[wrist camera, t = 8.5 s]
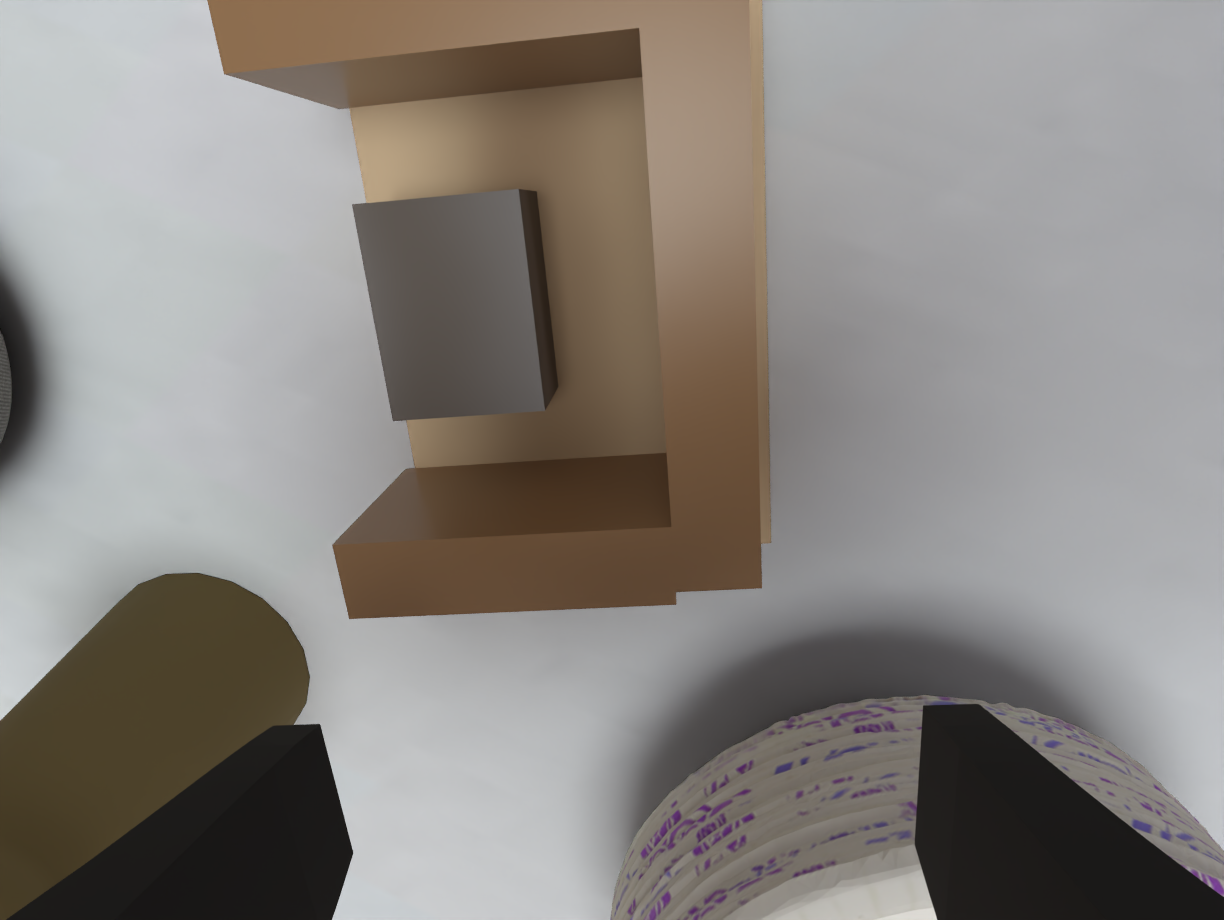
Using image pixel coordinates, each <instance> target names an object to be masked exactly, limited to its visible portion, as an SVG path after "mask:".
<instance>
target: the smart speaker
mask: <svg viewBox="0 0 1224 920" xmlns="http://www.w3.org/2000/svg"><path fill="white" fill-rule="evenodd" d="M11 401H12V379H11V369H10V363H9V357H8V353H7V349H6V345H5V341H4V338H3V335H2V332H1V330H0V443H1V441H2V439H3V437H4V434H5V431H6V428H7V425H8V421H9V416H10V410H11Z"/></svg>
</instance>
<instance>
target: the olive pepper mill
mask: <svg viewBox="0 0 1224 920" xmlns="http://www.w3.org/2000/svg"><path fill="white" fill-rule="evenodd" d="M309 679H310V677H309V672H308V668H307V664H306V659H305V655H304V651H303V648H302V646H301V645H300V643H299V641H298V640H297V638H296V636H295V635H294V633H293V631H292V630H291V628H290V626H289V625H288V623H287V622H286V621H285V620H284V619H283V618H282V617H281V616H280V615H279V614H278V613H277V612H276V611H275V610H274V609H273V608H271V607H270V606H269V605H268V604H267V603H266V602H265V601H264V600H263V599H262V598H260V597H258V596H256V595H255V594H253V593H251V592H249V591H247V590H245V589H244V588H242V587H240V586H238V585H236V584H235V583H233V582H230V581H226V580H223V579H219V578H215V577H211V576H207V575H203V574H199V573H192V574H165V575H163V576H160V577H157V578H154V579H152V580H149V581H146V582H144V583H141V584H138V585H137V586H136V587H135V588H134V589H133V590H132V591H130V592H129V593H128V594H127V595H126V596H125V597H124V598H123V599H122V600H120V601H119V602H118V603H117V604H116V605H115V606H114V607H113V608H112V609H111V610H110V611H109V612H108V613H107V614H106V615H105V616H104V617H103V618H102V619H101V620H100V621H99V622H98V623H97V624H96V625H95V626H94V627H93V628H92V629H91V630H90V631H89V632H88V633H87V634H86V635H85V636H84V637H83V638H82V639H81V640H80V641H79V642H78V643H77V644H76V645H75V646H74V647H73V648H72V649H71V650H70V651H69V652H68V653H67V654H66V655H65V656H64V657H63V658H62V659H61V660H60V661H59V662H58V663H57V664H56V665H55V666H54V667H53V668H52V669H51V670H50V671H49V672H48V673H47V674H46V676H45V677H44V678H43V679H42V680H41V681H40V682H39V683H38V684H37V685H36V686H35V687H34V688H33V689H32V690H31V691H30V692H29V693H28V694H27V695H26V696H25V697H24V698H23V699H22V700H21V701H20V702H19V703H18V704H17V705H16V706H15V707H14V708H13V709H12V710H11V711H10V712H9V713H8V714H7V715H6V716H5V717H4V718H3V719H2V720H1V721H0V920H6V919H7V918H9V917H10V916H12V915H13V914H15V913H16V912H17V911H19V910H20V909H22V908H23V907H24V906H26V905H27V904H29V903H30V902H32V901H33V900H34V899H36V898H37V897H39V896H40V895H41V894H43V893H44V892H46V891H47V890H49V889H50V888H51V887H53V886H54V885H56V884H57V883H58V882H60V881H61V880H63V879H64V878H66V877H67V876H68V875H70V874H71V873H73V872H74V871H75V870H77V869H78V868H80V867H81V866H83V865H84V864H85V863H87V862H88V861H90V860H91V859H92V858H94V857H95V856H96V855H98V854H99V853H100V852H102V851H103V850H104V849H106V848H107V847H108V846H110V845H111V844H112V843H114V842H115V841H116V840H118V839H119V838H120V837H122V836H123V835H124V834H126V833H127V832H128V831H130V830H131V829H132V828H134V827H135V826H137V825H138V824H139V823H141V822H142V821H143V820H145V819H146V818H147V817H149V816H150V815H151V814H153V813H154V812H155V811H157V810H158V809H159V808H161V807H162V806H163V805H165V804H166V803H167V802H169V801H170V800H171V799H173V798H174V797H175V796H177V795H178V794H179V793H181V792H182V791H183V790H185V789H186V788H187V787H188V786H190V785H191V784H192V783H194V782H195V781H196V780H198V779H199V778H200V777H202V776H203V775H204V774H206V773H207V772H208V771H210V770H211V769H212V768H214V767H215V766H216V765H218V764H219V763H220V762H222V761H223V760H225V759H226V758H227V757H229V756H230V755H231V754H233V753H234V752H235V751H237V750H238V749H240V748H241V747H242V746H244V745H245V744H247V743H248V742H249V741H251V740H252V739H254V738H255V737H257V736H258V735H260V734H261V733H263V732H264V731H266V730H267V729H269V728H270V727H272V726H277V725H293V724H294V723H295V721H296V719H297V718H298V716H299V714H300V713H301V711H302V709H303V708H304V706H305V704H306V700H307V693H308V686H309Z"/></svg>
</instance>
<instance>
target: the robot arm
mask: <svg viewBox="0 0 1224 920" xmlns="http://www.w3.org/2000/svg"><path fill="white" fill-rule="evenodd" d="M915 848H916V851H917V855H918V858H919V861H920V865H921V868H922V871H923V875H924V878H925V881H926V885H927V888H928V892H929V895H930V898H931V901H932V904H933V908H934V911H935V914H936V917H937V920H1224V897H1223V896H1222V895H1220V894H1219V893H1218V892H1216V891H1215V890H1213V889H1212V888H1211V887H1209V886H1208V885H1207V884H1205V883H1204V882H1203V881H1201V880H1200V879H1199V878H1197V877H1196V876H1195V875H1193V874H1192V873H1191V872H1189V871H1188V870H1187V869H1185V868H1184V867H1183V866H1181V865H1180V864H1179V863H1177V862H1176V861H1175V860H1173V859H1172V858H1171V857H1169V856H1168V855H1167V854H1166V853H1164V852H1163V851H1162V850H1160V849H1159V848H1158V847H1156V846H1155V845H1154V844H1153V843H1151V842H1150V841H1149V840H1147V839H1146V838H1145V837H1143V836H1142V835H1141V834H1140V833H1138V832H1137V831H1136V830H1135V829H1133V828H1132V827H1131V826H1129V825H1128V824H1127V823H1126V822H1124V821H1123V820H1122V819H1120V818H1119V817H1118V816H1117V815H1115V814H1114V813H1113V812H1112V811H1110V810H1109V809H1108V808H1107V807H1105V806H1104V805H1103V804H1102V803H1100V802H1099V801H1098V800H1097V799H1095V798H1094V797H1093V796H1092V795H1090V794H1089V793H1088V792H1087V791H1085V790H1084V789H1083V788H1082V787H1080V786H1079V785H1078V784H1077V783H1075V782H1074V781H1073V780H1072V779H1071V778H1069V777H1068V776H1067V775H1066V774H1064V773H1063V772H1062V771H1061V770H1060V769H1058V768H1057V767H1056V766H1055V765H1053V764H1052V763H1051V762H1050V761H1048V760H1047V759H1046V758H1045V757H1044V756H1042V755H1041V754H1040V753H1039V752H1038V751H1036V750H1035V749H1034V748H1033V747H1031V746H1030V745H1029V744H1028V743H1027V742H1025V741H1024V740H1023V739H1022V738H1020V737H1019V736H1018V735H1017V734H1016V733H1014V732H1013V731H1012V730H1011V729H1010V728H1008V727H1007V726H1006V725H1005V724H1003V723H1002V722H1001V721H1000V720H998V719H997V718H996V717H995V716H993V715H992V714H991V713H990V712H988V711H987V710H986V709H985V708H983V707H982V706H981V705H979V704H952V705H923V714H922V730H921V747H920V763H919V779H918V795H917V811H916V827H915ZM352 855H353V850H352V846H351V842H350V839H349V835H348V831H347V827H346V823H345V819H344V815H343V811H342V808H341V804H340V800H339V796H338V792H337V788H336V784H335V780H334V777H333V773H332V769H331V765H330V761H329V757H328V753H327V749H326V746H325V742H324V738H323V734H322V730H321V726H320V724H310V725H277V726H272V727H270V728H269V729H267V730H266V731H264V732H263V733H261V734H260V735H258V736H257V737H255V738H254V739H252V740H251V741H249V742H248V743H247V744H245V745H244V746H242V747H241V748H240V749H238V750H237V751H235V752H234V753H233V754H231V755H230V756H229V757H227V758H226V759H225V760H223V761H222V762H220V763H219V764H218V765H216V766H215V767H214V768H212V769H211V770H210V771H208V772H207V773H206V774H204V775H203V776H202V777H200V778H199V779H198V780H196V781H195V782H194V783H192V784H191V785H190V786H188V787H187V788H186V789H185V790H183V791H182V792H181V793H179V794H178V795H177V796H175V797H174V798H173V799H171V800H170V801H169V802H167V803H166V804H165V805H163V806H162V807H161V808H159V809H158V810H157V811H155V812H154V813H153V814H151V815H150V816H149V817H147V818H146V819H145V820H143V821H142V822H141V823H139V824H138V825H137V826H135V827H134V828H132V829H131V830H130V831H128V832H127V833H126V834H124V835H123V836H122V837H120V838H119V839H118V840H116V841H115V842H114V843H112V844H111V845H110V846H108V847H107V848H106V849H104V850H103V851H102V852H100V853H99V854H98V855H96V856H95V857H94V858H92V859H91V860H90V861H88V862H87V863H85V864H84V865H83V866H81V867H80V868H78V869H77V870H75V871H74V872H73V873H71V874H70V875H68V876H67V877H66V878H64V879H63V880H61V881H60V882H58V883H57V884H56V885H54V886H53V887H51V888H50V889H49V890H47V891H46V892H44V893H43V894H41V895H40V896H39V897H37V898H36V899H34V900H33V901H32V902H30V903H29V904H27V905H26V906H24V907H23V908H22V909H20V910H19V911H17V912H16V913H15V914H13V915H12V916H10V917H9V918H7V919H6V920H332V918H333V915H334V912H335V909H336V906H337V903H338V900H339V897H340V894H341V891H342V887H343V884H344V881H345V878H346V874H347V871H348V868H349V865H350V862H351V858H352Z"/></svg>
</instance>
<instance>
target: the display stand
mask: <svg viewBox="0 0 1224 920" xmlns="http://www.w3.org/2000/svg"><path fill="white" fill-rule="evenodd" d="M749 10H750V57H751V103H752V150H753V196H754V243H755V289H756V336H757V382H758V429H759V475H760V522H761V544H763V543H771V508H770V448H769V388H768V328H767V268H766V207H765V147H764V87H763V27H762V0H749ZM349 109H350V114H351V120H352V125H353V131H354V136H355V142H356V147H357V153H358V158H359V164H360V169H361V175H362V180H363V186H364V191H365V197H366V202H367V203H363V204H353V205H352V206H353V212H354V217H355V222H356V227H357V233H358V238H359V243H360V249H361V254H362V259H363V265H364V270H365V275H366V280H367V286H368V291H369V296H370V302H371V307H372V312H373V318H374V323H375V328H376V333H377V339H378V344H379V349H380V355H381V360H382V365H383V371H384V376H385V381H386V386H387V392H388V397H389V402H390V408H391V413H392V418H393V421H403V420H406V421H407V427H408V432H409V438H410V443H411V449H412V454H413V460H414V465H415V468H426V467H442V466H458V465H475V464H491V463H507V462H523V461H540V460H556V459H572V458H589V457H605V456H621V455H637V454H654V453H667V452H666V436H665V421H664V405H663V390H662V374H661V358H660V343H659V327H658V312H657V296H656V281H655V265H654V250H653V234H652V219H651V203H650V188H649V172H648V157H647V141H646V126H645V110H644V95H643V79H642V77H639V78H629V79H620V80H610V81H601V82H591V83H582V84H572V85H563V86H553V87H544V88H534V89H525V90H515V91H506V92H496V93H487V94H477V95H468V96H458V97H449V98H439V99H430V100H420V101H411V102H401V103H392V104H382V105H373V106H363V107H354V108H349Z"/></svg>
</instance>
